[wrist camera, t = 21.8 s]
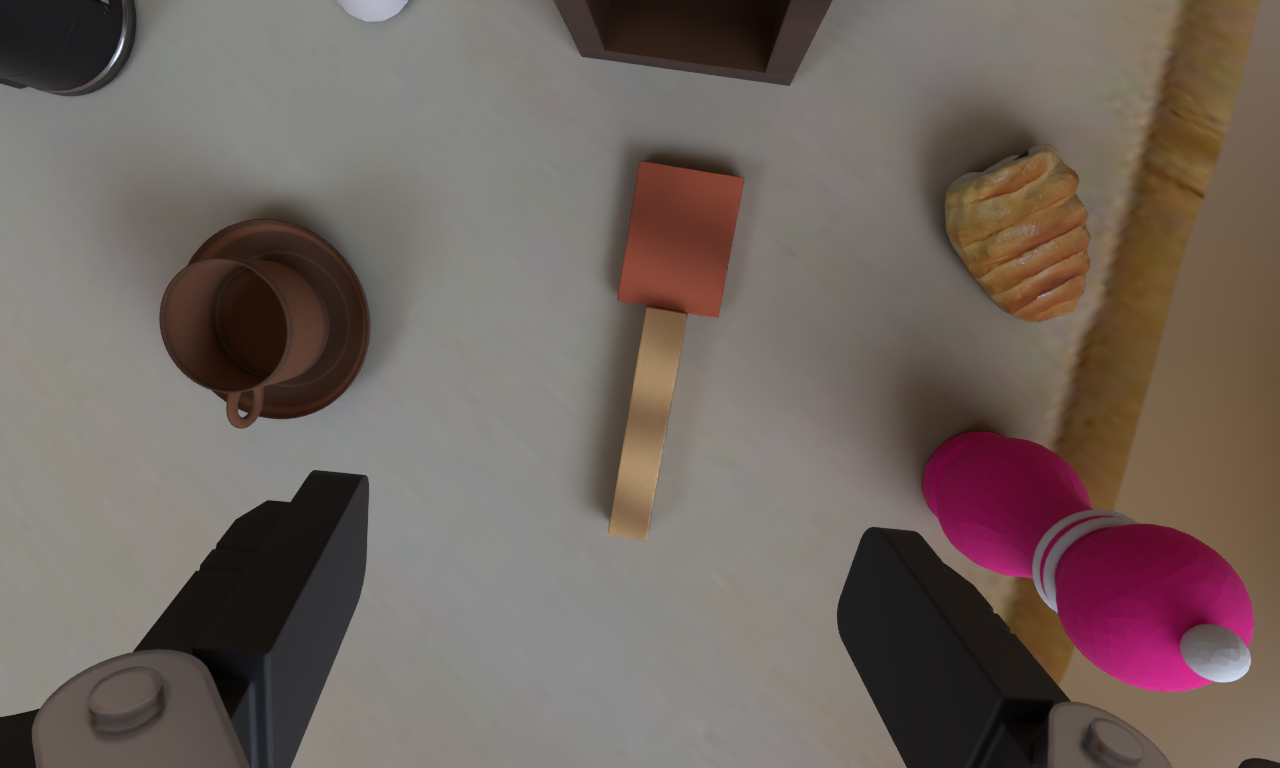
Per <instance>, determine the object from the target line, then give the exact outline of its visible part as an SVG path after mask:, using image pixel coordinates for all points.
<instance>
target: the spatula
mask: <svg viewBox="0 0 1280 768" xmlns="http://www.w3.org/2000/svg"><path fill="white" fill-rule="evenodd" d="M743 183H744V178H743V177H737V176H731V175H725V174H719V173H713V172H707V171H701V170H695V169H689V168H682V167H676V166H670V165H664V164H658V163H652V162H646V161H640V162H639V168H638V174H637V181H636V187H635V193H634V199H633V205H632V211H631V217H630V224H629V230H628V236H627V242H626V248H625V254H624V260H623V267H622V273H621V279H620V285H619V291H618V297H617V300H618V301H623V302H629V303H635V304H640V305H646V306H647V307H646V311H645V317H644V323H643V328H642V334H641V340H640V346H639V352H638V358H637V364H636V370H635V375H634V381H633V387H632V393H631V399H630V405H629V411H628V417H627V422H626V428H625V434H624V440H623V446H622V452H621V458H620V464H619V469H618V475H617V481H616V487H615V493H614V499H613V505H612V511H611V516H610V522H609V528H608V534H609V535H614V536H619V537H624V538H629V539H635V540H640V541H646V540H647V535H648V529H649V524H650V518H651V513H652V507H653V502H654V496H655V491H656V485H657V480H658V474H659V468H660V463H661V457H662V452H663V446H664V441H665V435H666V430H667V424H668V419H669V413H670V408H671V402H672V396H673V391H674V385H675V380H676V374H677V369H678V363H679V358H680V352H681V347H682V341H683V336H684V330H685V325H686V319H687V313H692V314H698V315H703V316H709V317H715V318H718V316H719V310H720V305H721V300H722V295H723V289H724V284H725V279H726V273H727V268H728V263H729V257H730V252H731V247H732V241H733V236H734V231H735V226H736V220H737V215H738V210H739V204H740V199H741V194H742V188H743Z"/></svg>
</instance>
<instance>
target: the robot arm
mask: <svg viewBox="0 0 1280 768" xmlns="http://www.w3.org/2000/svg"><path fill="white" fill-rule="evenodd" d="M135 31H136V11H135V4H134V0H0V83H1V84H4V85H8V86H11V87H15V88H18V89H22V88H25V87H27V86H29V87H32V88H35V89H37V90H41V91H44V92H48V93H51V94H55V95H61V96H80V95H85V94H89V93H92V92H94V91H96V90H99V89H100V88H102V87H104V86H105V85H107V84H108V83H109V82H111V81H112V80H113V79H114V78H115V77H116V76H117V74H118V73H119V72H120V71H121V69H122V68H123V67H124V65H125V63H126V61H127V60H128V57H129V55H130V53H131V50H132V47H133V43H134V38H135ZM368 503H369V481H368V477H367V476H366V475H359V474H349V473H339V472H329V471H319V470H314V471H312V472H311V473H310V474H309V476H308V477H307V478H306V480H305V481H304V483H303V484H302V486H301V487H300V489H299V490H298V492H297V493H296V495H295V496H294V498H293V499H292V501H291V502H282V501H271V500H267V501H266V502H264V503H262V504H261V505H259V506H257V507H256V508H254V509H252V510H251V511H249V512H248V513H246V514H244V515H243V516H241V517H239V518H238V519H236V520H235V521H234V523H233V524H232V525H231V526H230V528H229V529H228V530H227V532H226V533H225V534H224V535H223V537H222V538H221V539H220V541H219V542H218V543H217V546H216V549H213V550H212V551H211V552H210V553H209V555H208V556H207V557H206V559H205V560H204V561H203V562H202V564H201V565H200V570H199V571H195V573H194V574H193V575H192V577H191V578H190V579H189V580H188V582H187V583H186V584H185V586H184V587H183V588H182V589H181V591H180V592H179V593H178V595H177V596H176V597H175V598H174V600H173V601H172V602H171V604H170V605H169V606H168V607H167V609H166V610H165V611H164V613H163V614H162V615H161V616H160V618H159V619H158V620H157V622H156V623H155V624H154V625H153V627H152V628H151V629H150V631H149V632H148V633H147V634H146V636H145V637H144V638H143V640H142V641H141V642H140V643H139V645H138V646H137V647H136V649H135V650H134V651H133V652H132V653H127V654H124V655H120V656H117V657H113V658H111V659H108V660H105V661H103V662H100V663H98V664H96V665H94V666H92V667H90V668H88V669H85V670H84V671H82V672H80V673H79V674H77V675H75V676H74V677H72V678H71V679H69V680H68V681H67V682H65V683H64V684H63V685H61V686H60V687H59V688H58V689H57V690H56V691H55V692H54V693H53V694H52V695H51V696H50V697H49V698H48V699H47V700H46V701H45V703H44V704H43V705H42V706H41V708H40V709H37V710H33V711H29V712H25V713H20V714H16V715H10V716H5V717H0V768H291V765H292V763H293V760H294V758H295V756H296V753H297V751H298V748H299V746H300V743H301V741H302V738H303V736H304V734H305V731H306V729H307V726H308V724H309V721H310V719H311V716H312V714H313V711H314V709H315V707H316V704H317V702H318V699H319V697H320V694H321V692H322V689H323V687H324V685H325V682H326V680H327V677H328V675H329V672H330V670H331V667H332V665H333V663H334V660H335V658H336V655H337V653H338V650H339V648H340V645H341V643H342V640H343V638H344V636H345V633H346V631H347V628H348V626H349V623H350V621H351V618H352V616H353V614H354V611H355V609H356V606H357V604H358V601H359V598H360V594H361V590H362V586H363V581H364V576H365V569H366V556H367V530H368ZM837 623H838V629H839V634H840V637H841V639H842V642H843V643H844V645H845V647H846V649H847V651H848V653H849V655H850V657H851V659H852V661H853V663H854V665H855V667H856V669H857V671H858V673H859V675H860V677H861V679H862V681H863V683H864V685H865V687H866V688H867V690H868V692H869V694H870V696H871V698H872V700H873V702H874V704H875V706H876V708H877V710H878V712H879V714H880V716H881V718H882V720H883V722H884V724H885V726H886V728H887V730H888V732H889V733H890V735H891V737H892V739H893V741H894V743H895V745H896V747H897V749H898V751H899V753H900V755H901V757H902V759H903V761H904V763H905V765H906V767H907V768H1173V767H1172V765H1171V764H1170V762H1169V761H1168V759H1167V758H1166V757H1165V755H1164V754H1163V753H1162V752H1161V751H1160V750H1159V749H1158V747H1157V746H1156V745H1155V744H1154V743H1152V742H1151V741H1150V740H1149V739H1148V738H1147V737H1146V736H1145V735H1143V734H1142V733H1141V732H1140V731H1138V730H1137V729H1136V728H1134V727H1133V726H1131V725H1130V724H1128V723H1127V722H1125V721H1124V720H1122V719H1120V718H1119V717H1117V716H1115V715H1113V714H1111V713H1109V712H1107V711H1105V710H1102V709H1100V708H1097V707H1095V706H1092V705H1089V704H1084V703H1080V702H1071V701H1070V700H1069V698H1068V697H1067V696H1066V695H1065V694H1064V692H1063V691H1062V690H1061V689H1060V688H1059V686H1058V685H1057V684H1056V683H1055V682H1054V680H1053V679H1052V678H1051V677H1050V676H1049V674H1048V673H1047V672H1046V671H1045V670H1044V669H1043V667H1042V666H1041V665H1040V664H1039V663H1038V661H1037V660H1036V659H1035V658H1034V657H1033V655H1032V654H1031V653H1030V652H1029V651H1028V649H1027V648H1026V647H1025V646H1024V645H1023V643H1022V642H1021V641H1020V640H1019V639H1018V638H1017V636H1016V635H1015V634H1011V633H1010V628H1009V627H1008V626H1007V624H1006V623H1005V622H1004V621H1003V620H1002V618H1001V617H1000V616H999V615H998V614H995V613H993V608H992V607H991V605H990V604H989V603H988V602H987V601H986V599H985V598H984V597H983V596H982V595H981V593H980V592H979V591H978V590H977V589H976V587H975V586H974V585H973V584H971V583H970V582H969V581H967V580H966V579H965V578H963V577H962V576H961V575H959V574H958V573H957V572H955V571H954V570H953V569H952V568H950V567H949V566H948V565H946V564H944V563H943V562H942V560H941V559H940V558H939V557H938V556H937V554H936V553H935V552H934V551H933V549H932V548H931V547H930V546H929V544H928V543H927V542H926V541H925V540H924V538H923V537H922V536H921V535H920V534H919V533H917V532H915V531H909V530H899V529H889V528H879V527H871V528H869V529H867V530H866V531H865V532H864V534H863V536H862V538H861V540H860V543H859V546H858V548H857V551H856V554H855V557H854V560H853V562H852V565H851V568H850V571H849V574H848V577H847V579H846V582H845V585H844V588H843V591H842V593H841V596H840V599H839V603H838V609H837ZM1238 768H1280V763H1277V762H1274V761H1270V760H1266V759H1260V758H1259V759H1258V758H1252V759H1247V760H1245V761H1243V762H1242V763H1241V764H1240V766H1239V767H1238Z"/></svg>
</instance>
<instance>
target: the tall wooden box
mask: <svg viewBox="0 0 1280 768" xmlns="http://www.w3.org/2000/svg"><path fill="white" fill-rule="evenodd" d="M554 2H555V4H556V6H557V8H558V10H559V12H560V14H561V16H562V18H563V20H564V22H565V24H566V26H567V28H568V30H569V32H570V34H571V36H572V38H573V40H574V42H575V44H576V46H577V48H578V50H579V52H580V54H581V56H582V57H588V58H595V59H603V60H610V61H617V62H624V63H631V64H638V65H645V66H653V67H660V68H667V69H674V70H681V71H688V72H695V73H702V74H710V75H717V76H724V77H731V78H738V79H745V80H752V81H760V82H767V83H774V84H781V85H788V86H789V85H790V84H791V82H792V80H793V78H794V76H795V74H796V72H797V70H798V68H799V66H800V64H801V62H802V60H803V58H804V56H805V54H806V52H807V50H808V48H809V46H810V44H811V42H812V40H813V38H814V36H815V34H816V32H817V30H818V28H819V26H820V24H821V22H822V20H823V18H824V16H825V14H826V12H827V10H828V8H829V6H830V4H831V2H832V0H554Z"/></svg>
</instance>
